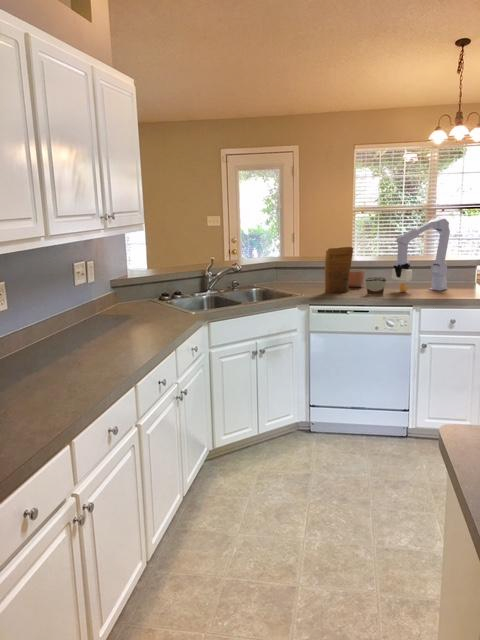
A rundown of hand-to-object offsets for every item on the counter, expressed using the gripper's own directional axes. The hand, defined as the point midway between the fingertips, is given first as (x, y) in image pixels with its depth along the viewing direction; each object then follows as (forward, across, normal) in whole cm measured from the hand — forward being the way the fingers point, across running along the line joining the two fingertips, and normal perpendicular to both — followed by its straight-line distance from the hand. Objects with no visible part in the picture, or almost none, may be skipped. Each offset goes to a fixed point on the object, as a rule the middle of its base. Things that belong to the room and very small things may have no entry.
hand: (401, 276), depth 320 cm
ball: (+7, 0, -2) cm, 7 cm away
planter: (+10, -3, +32) cm, 34 cm away
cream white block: (+2, 0, 0) cm, 2 cm away
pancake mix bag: (+10, -28, +27) cm, 40 cm away
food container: (+10, -18, +7) cm, 22 cm away
